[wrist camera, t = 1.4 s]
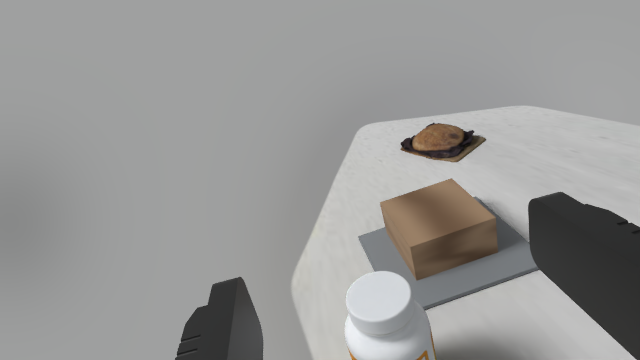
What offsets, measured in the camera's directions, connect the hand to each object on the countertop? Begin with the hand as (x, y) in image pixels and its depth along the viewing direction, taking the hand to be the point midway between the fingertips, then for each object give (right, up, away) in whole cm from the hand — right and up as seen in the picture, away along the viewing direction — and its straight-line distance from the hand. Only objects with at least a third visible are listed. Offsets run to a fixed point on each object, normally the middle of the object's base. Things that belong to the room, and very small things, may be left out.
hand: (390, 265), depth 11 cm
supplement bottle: (+4, -13, +17) cm, 22 cm away
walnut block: (+10, -4, +29) cm, 31 cm away
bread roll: (+16, +7, +48) cm, 51 cm away
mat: (+10, -5, +28) cm, 31 cm away
